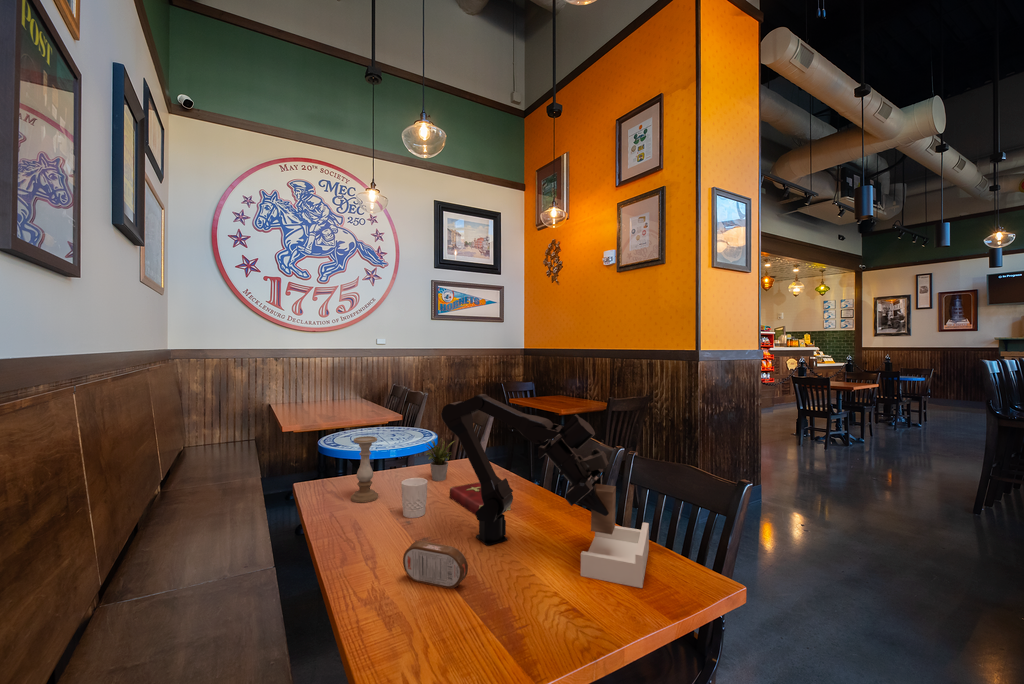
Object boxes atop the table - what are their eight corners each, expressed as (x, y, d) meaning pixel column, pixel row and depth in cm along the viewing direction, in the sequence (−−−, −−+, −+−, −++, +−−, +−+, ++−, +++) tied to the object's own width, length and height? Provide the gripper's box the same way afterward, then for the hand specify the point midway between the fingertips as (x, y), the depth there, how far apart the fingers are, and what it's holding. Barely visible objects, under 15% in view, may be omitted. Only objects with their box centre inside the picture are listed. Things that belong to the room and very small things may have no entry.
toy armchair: (580, 575, 100) (580, 545, 100) (595, 541, 118) (596, 515, 118) (642, 588, 95) (642, 555, 95) (648, 550, 113) (648, 523, 113)
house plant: (411, 483, 166) (411, 440, 166) (424, 473, 179) (424, 433, 179) (447, 486, 163) (448, 441, 163) (458, 475, 177) (458, 434, 177)
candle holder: (383, 497, 151) (384, 437, 151) (362, 504, 143) (363, 442, 143) (366, 492, 155) (367, 434, 156) (345, 499, 148) (346, 439, 148)
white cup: (395, 516, 134) (396, 483, 134) (410, 507, 141) (411, 476, 141) (417, 520, 131) (418, 486, 131) (432, 511, 138) (432, 479, 138)
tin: (468, 586, 96) (468, 547, 96) (462, 593, 93) (462, 553, 93) (408, 573, 101) (408, 536, 101) (400, 580, 98) (400, 542, 98)
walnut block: (590, 530, 107) (591, 489, 107) (594, 523, 111) (595, 483, 111) (611, 534, 105) (612, 492, 105) (614, 526, 109) (615, 486, 109)
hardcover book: (479, 519, 133) (479, 505, 133) (449, 498, 151) (449, 486, 151) (512, 511, 140) (512, 498, 140) (480, 492, 158) (480, 480, 158)
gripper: (580, 448, 101) (629, 503, 97) (595, 433, 118) (637, 480, 114) (546, 478, 104) (592, 533, 100) (566, 459, 121) (606, 505, 117)
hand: (609, 511), depth 107 cm, fingers closed on walnut block, 5 cm apart
